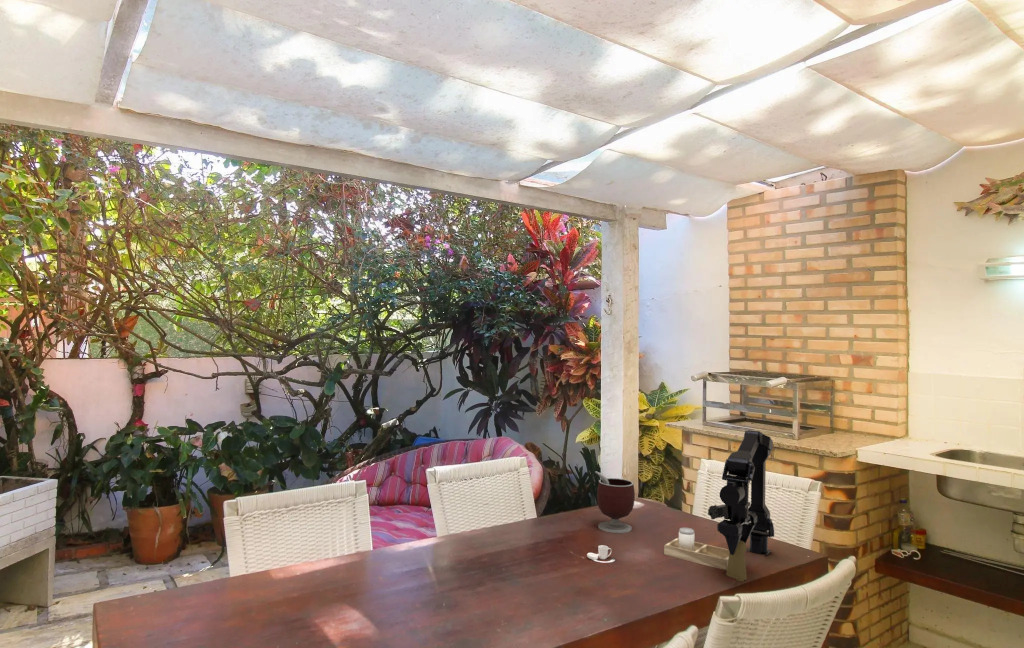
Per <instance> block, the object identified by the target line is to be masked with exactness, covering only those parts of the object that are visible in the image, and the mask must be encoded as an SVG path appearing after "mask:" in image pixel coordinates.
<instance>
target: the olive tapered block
mask: <svg viewBox="0 0 1024 648" xmlns="http://www.w3.org/2000/svg"><path fill="white" fill-rule="evenodd" d="M746 550H747V543H746V544H745V542H743V541H741V540H740V541H739V543H738V546H737V548H736V551H735V553H734V555H731V554H730V553H729V559H728V566H727V570H726V573H725V574H726V576H727V577H729V578H732V579H735V582H744V580H745V581H747V580H748V577H747V566H746V557H745V553H746V552H747V551H746ZM746 579H747V580H746Z"/></svg>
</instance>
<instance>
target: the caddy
mask: <svg viewBox="0 0 1024 648" xmlns="http://www.w3.org/2000/svg"><path fill="white" fill-rule="evenodd" d="M678 543H679V537H677V538H675V539H672V540H671V541H670V542H667V543H665V544H664V546H663V547H664V548H663V550H664V551H663V552H664V553H663V554H664V556H668V557H672V558H676V559H680V560H684V561H688V562H693V563H695V564H699V565H700V564H701V565H704V566H707V567H712V568H716V569H719V570H724V571H727V566H728V559H729V553H730V552H729V549H727V548H724V547H720V546H714V545H711V544H706V543H701V542H698V541H694V551H690V550H686V549H682V548H678Z"/></svg>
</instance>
